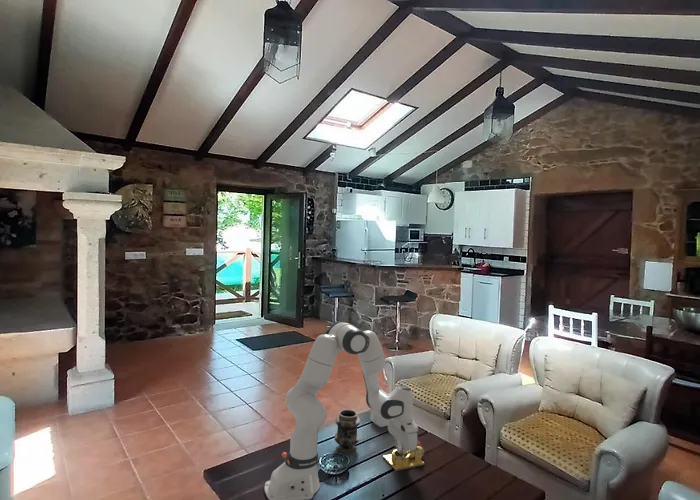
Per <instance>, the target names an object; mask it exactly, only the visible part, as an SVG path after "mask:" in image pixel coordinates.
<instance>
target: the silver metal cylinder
mask: <svg viewBox="0 0 700 500" xmlns="http://www.w3.org/2000/svg"><path fill="white" fill-rule="evenodd" d="M403 448H404V447H403V444H402V443H400V442H399V440H398V439H397V447H396V449H397V456H399V457H405V454H403V453H402V449H403Z"/></svg>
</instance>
